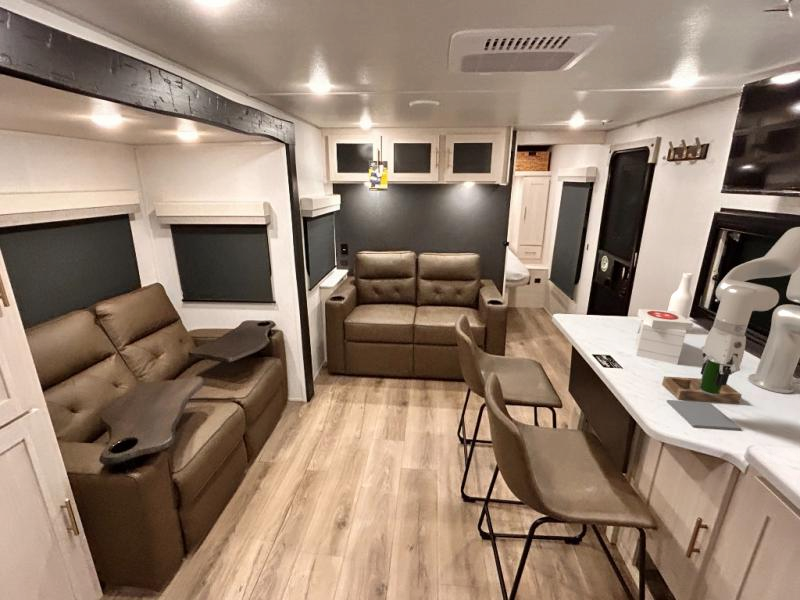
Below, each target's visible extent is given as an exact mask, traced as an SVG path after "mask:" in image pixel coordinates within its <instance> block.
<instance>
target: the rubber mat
mask: <svg viewBox="0 0 800 600" xmlns="http://www.w3.org/2000/svg"><path fill="white" fill-rule="evenodd" d="M666 403H667V404H668V405H669V406H670V407H672V409H674V410H675V411H676V412H677V413H678V414H679V415H680V416H681V417H682V418H683V419H684V420H685V421H686V422H687V423H688V424H689V425H690V426H691V427H692V428H698V429H699V428H700V429H715V430H716V429H717V430H729V431H742V427H741V426H740V425H738V424H737V423H736V422H735V421H733V420H732V419H731V418H730V417H728V416H727V415H726V414H725V413H723V412H722V411H721V410H720V409H719V408H717V407H716V406H715V405H713V404H712V403H711V402H709V401H693V400H678V399H677V400H675V399H674V400H673V399H667V400H666Z"/></svg>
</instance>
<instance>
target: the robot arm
mask: <svg viewBox="0 0 800 600" xmlns="http://www.w3.org/2000/svg"><path fill="white" fill-rule="evenodd" d="M790 275H791V276H790ZM785 276H790V279H789V282H788V285H787V289H786V298H787V300H789V301H791V302H795V303H798V304H800V226H796V227H792V228H790V229H788V230H787V231H786V232H784V234H782V236H781V237H780V238H779V239H778V240H777V241H776V242H775V244H774V245H773V246H772V247H771V249H769V250H768V252H767V253H766V254H765V255H764V256H762V257H759V258H754V259H752V260H750V261H746V262H744V263H741V264H739V265H737V266H735V267H733V268H732V269H731V270H729V272H727V274H726V275H725V276H724V277H723V279H722V280H721V281H720V282H719V283H718V285H717V287H716V289H715V297H716V298H717V300H719V302H720V303H719V305H718V309H717V312H716V315H715V318H714V322H713V325H712V326H711V329H710V330H709V332H708V335H707V337H706V339H705V342H704V346H701V347H700V349H701V352H702V357H703V359H702V363H703V364H702V366H701V367H702V368H701V371H700V375H703V372H704V368H705V365H706V362H707V359H708V357H709V356H711V357H712V358H714V359H716V361H717V362H718V363H720V369H719V373H717V375H716V378H715V381H714V384H715V385H726V384H727V383H728V380H729V377H730V375H732V374H734V373H737V372H740V371H741V368H740V366H741V363H742V361H743V358H744V354H745V349H746V345H747V343H746V342H747V336H746V335H745V333H746V332H747V328H748V325H749V322H750V319H751V316H752V313H753V312H756V311H757V312H765V311H769V310H771V309H772V308H774V307H776V305H777V304H778V303H779V300H780V294H779V292H778V290H776V289H774V288H773V287H770V286H767V285H763V284H757V283H753V282H749V280H750V281H751V280H756V279H764V278H765V279H766V278H767V279H769V278H777V277H785ZM747 281H748V282H747ZM798 304H796V305H795V304H782V305H779V306H777V307H776V308H775V309H774V310H773V312H772V316H771V325H770V330H769V334H768V338H767V340H766V343H765V346H764V349H763V352H762V354H761V357H760V361H759V363H758V366H757V368H756V371H755V373H752V374H750V375H748V378H747V379H748V381H749V382H750V383H752V384H753V385H755V386H757V387H758V388H761V389H764V390H767V391H770V392H775V393H780V394H791V393H794V391H795V388H794V386H793V385H794V384H798V385H800V378H798V377H797V378H795V377H794V374H795V371H796V367H797V366H798V363H799V361H800V305H798ZM727 362H728V364H727ZM724 366H727V369H725V370H724Z"/></svg>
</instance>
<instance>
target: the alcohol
mask: <svg viewBox="0 0 800 600" xmlns="http://www.w3.org/2000/svg"><path fill="white" fill-rule="evenodd" d="M693 276H694V274H693V273H690V272H683V273H682V278H681V281H680V283H679V286H678V289H677V290H675V292H673V293H672V295H671V296H670V300H669V303H668V308H667V311H675V312H677V313H678V314H680V315H681V316H683V317H684V318H686V319H687V320H688V317H689V313H690V310H691V307H692V304H693V295H692V294H691V291H690V290H691V284H692V279H693Z"/></svg>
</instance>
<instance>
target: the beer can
mask: <svg viewBox="0 0 800 600" xmlns="http://www.w3.org/2000/svg"><path fill="white" fill-rule="evenodd" d="M727 364H728V362H727ZM719 369H720V363H718V362H717V361H716V359H714V358H712V357H711V356H709V357H708V359H707V362H706V365H705V368H704V372H703V375H702V374H701V375H702V376H701V378H700V379H701V381H700V385H699V389H700V391H702V392H703V393H706V394H709V395H714V396H716V395H718V394H719V393H720V392H721V389H722V386H723V385H715V384H714V381H715V378H716V375H717V373H719ZM725 369H727V366H724V370H725Z"/></svg>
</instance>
